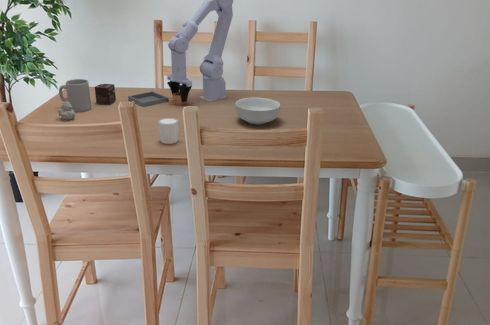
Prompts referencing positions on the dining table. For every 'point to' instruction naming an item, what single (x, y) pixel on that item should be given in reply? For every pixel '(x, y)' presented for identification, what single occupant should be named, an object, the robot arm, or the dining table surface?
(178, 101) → the ring
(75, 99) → the mug
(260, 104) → the cereal bowl
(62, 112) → the grey stacked lumpy shape
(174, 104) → the stake
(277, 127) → the dining table surface
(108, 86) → the box
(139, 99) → the tray
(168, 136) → the white ribbed cylinder
